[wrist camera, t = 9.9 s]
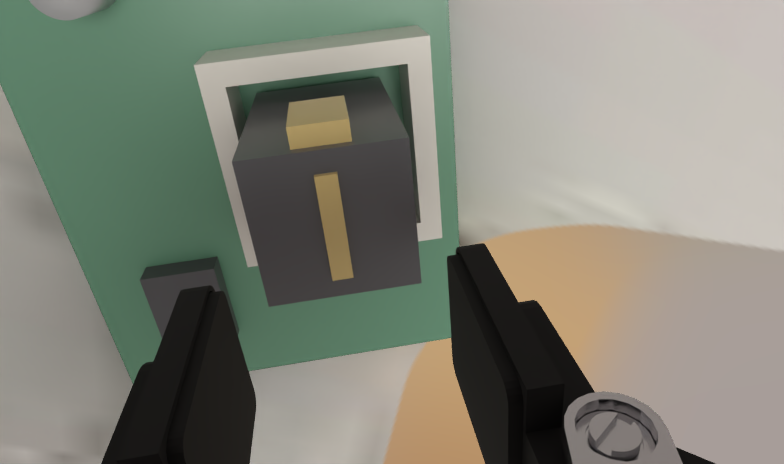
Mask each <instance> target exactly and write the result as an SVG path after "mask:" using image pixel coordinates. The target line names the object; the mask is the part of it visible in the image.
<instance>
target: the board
mask: <svg viewBox="0 0 784 464" xmlns="http://www.w3.org/2000/svg"><path fill="white" fill-rule="evenodd" d="M378 77H379V78H380V80H381V82H382V84H383V86H384V88H385V90H386V92H387V94H388V96H389V98H390V100H391V102H392V104H393V106H394V108H395V110H396V112H397V114H398V116H399V118H400V120H401V122H402V124H403V126H404V128H405V130H406V132H407V134H408V136H409V140H410V152H411V164H412V175H413V187H414V199H415V210H416V222H417V234H418V246H419V257H420V269H421V281H422V283H420V284H414V285H407V286H401V287H394V288H388V289H381V290H375V291H369V292H362V293H356V294H349V295H343V296H337V297H330V298H324V299H317V300H311V301H304V302H298V303H292V304H285V305H279V306H272V307H269V306H268V302H267V298H266V294H265V290H264V286H263V283H262V279H261V275H260V271H259V267H258V263H257V259H256V255H255V251H254V247H253V243H252V239H251V235H250V232H249V228H248V224H247V220H246V216H245V212H244V208H243V204H242V200H241V196H240V192H239V188H238V184H237V181H236V177H235V173H234V169H233V165H232V160H233V157H234V154H235V151H236V149H237V146H238V143H239V140H240V137H241V135H242V132H243V129H244V126H245V124H246V121H247V118H248V115H249V112H250V110H251V107H252V104H253V101H254V98H255V96H256V93H262V92H269V91H277V90H285V89H293V88H300V87H308V86H316V85H323V84H331V83H339V82H347V81H354V80H362V79H370V78H378ZM0 84H1V86H2V89H3V91H4V93H5V95H6V98H7V100H8V102H9V104H10V107H11V109H12V111H13V113H14V116H15V118H16V120H17V122H18V125H19V127H20V129H21V131H22V134H23V136H24V138H25V141H26V143H27V145H28V147H29V150H30V152H31V154H32V156H33V159H34V161H35V163H36V165H37V168H38V170H39V172H40V174H41V177H42V179H43V181H44V184H45V186H46V188H47V190H48V193H49V195H50V197H51V199H52V202H53V204H54V206H55V208H56V211H57V213H58V215H59V217H60V220H61V222H62V224H63V226H64V229H65V231H66V233H67V236H68V238H69V240H70V242H71V245H72V247H73V249H74V251H75V254H76V256H77V258H78V260H79V263H80V265H81V267H82V269H83V272H84V274H85V276H86V279H87V281H88V283H89V285H90V288H91V290H92V292H93V294H94V297H95V299H96V301H97V303H98V306H99V308H100V310H101V312H102V315H103V317H104V319H105V321H106V324H107V326H108V328H109V331H110V333H111V335H112V337H113V340H114V342H115V344H116V346H117V349H118V351H119V353H120V355H121V358H122V360H123V362H124V364H125V367H126V369H127V371H128V374H129V376H130V378H131V380H132V383H133V384H134V381H135V379H136V376H137V374H138V371H139V369H140V368H141V366H142V365H143V364H145V363H146V362H153V361H154V359H155V356H156V354H157V351H158V348H159V346H160V343H161V340H162V338H163V335H164V332H165V330H166V327H167V324H168V322H169V319H170V316H171V314H172V311H173V308H174V306H175V303H176V300H177V298H178V295H179V293H180V291H181V290H182V289H188V288H194V287H201V286H208V285H211V286H213V288H214V289H215V292H217V291H224V293H225V295H226V298H227V301H228V304H229V308H230V311H231V314H232V318H233V321H234V324H235V328H236V331H237V334H238V338H239V341H240V344H241V348H242V351H243V354H244V358H245V361H246V364H247V368H248V371H252V370H258V369H264V368H270V367H276V366H282V365H289V364H295V363H301V362H307V361H313V360H319V359H325V358H331V357H337V356H343V355H349V354H355V353H362V352H368V351H374V350H380V349H386V348H392V347H398V346H404V345H410V344H416V343H422V342H429V341H434V340H440V339H447V338H451V323H450V306H449V289H448V272H447V256H450V255H456V248H457V247H459V230H458V208H457V186H456V164H455V142H454V119H453V97H452V75H451V53H450V31H449V9H448V0H0Z"/></svg>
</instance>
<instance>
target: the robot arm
mask: <svg viewBox="0 0 784 464" xmlns="http://www.w3.org/2000/svg"><path fill="white" fill-rule="evenodd" d="M447 272H448V289H449V306H450V323H451V340H452V354H453V355H452V356H453V364H454V369H455V374H456V377H457V380H458V383H459V386H460V389H461V392H462V395H463V398H464V401H465V404H466V407H467V410H468V413H469V416H470V419H471V422H472V425H473V428H474V431H475V433H476V437H477V439H478V443H479V446H480V449H481V452H482V455H483V458H484V461H485V464H715V463H713V462H710V461H708V460H705V459H703V458H701V457H698V456H696V455H693V454H691V453H688V452H686V451H684V450H681V449H679V448H676V447H675V444H674V442H673V440H672V437H671V435H670V433H669V430H668V428H667V427H666V425H665V424H664V422H663V420H662V419H661V417H660V416H659V415H658V414H657V413H656V412H654V411H653V410H652V409H651V408H650V407H649V406H647V405H646V404H644V403H642V402H640V401H639V400H637V399H635V398H632V397H629V396H626V395H623V394H620V393H612V392H594V390H593V389H592V387H591V385H590V384H589V382H588V381H587V379H586V377H585V376H584V374H583V373H582V371H581V370H580V368H579V366H578V365H577V363H576V362H575V360H574V358H573V357H572V355H571V354H570V352H569V350H568V349H567V347H566V346H565V344H564V342H563V341H562V339H561V338H560V336H559V335H558V333H557V331H556V330H555V328H554V327H553V325H552V323H551V322H550V320H549V319H548V317H547V315H546V314H545V312H544V311H543V309H542V307H541V306H540V305H539V303H538V302H537V301H534V300H531V301H525V302H518V301H517V299H516V298H515V296H514V294H513V292H512V291H511V289H510V287H509V286H508V284H507V282H506V280H505V278H504V277H503V275H502V273H501V272H500V270H499V268H498V266H497V264H496V263H495V261H494V259H493V257H492V256H491V254H490V252H489V250H488V249H487V247H486V245H485V244H483V243H482V244H475V245H469V246H462V247H457V248H456V255H450V256H447ZM255 412H256V397H255V392H254V388H253V384H252V381H251V378H250V374H249V371H248V368H247V364H246V361H245V358H244V354H243V351H242V348H241V344H240V341H239V338H238V334H237V331H236V328H235V324H234V321H233V318H232V314H231V311H230V308H229V304H228V301H227V298H226V295H225V293H224V291H217V292H215V289H214V288H213V286H211V285H208V286H201V287H194V288H188V289H182V290H181V291H180V293H179V295H178V298H177V300H176V303H175V306H174V308H173V311H172V314H171V316H170V319H169V322H168V324H167V327H166V330H165V332H164V335H163V338H162V340H161V343H160V346H159V348H158V351H157V354H156V356H155V359H154V361H153V362H146V363H145V364H143V365H142V366H141V368H140V369H139V371H138V374H137V376H136V379H135V381H134V384H133V386H132V388H131V391H130V393H129V396H128V398H127V401H126V403H125V406H124V408H123V411H122V413H121V416H120V418H119V421H118V423H117V426H116V428H115V431H114V433H113V436H112V438H111V441H110V443H109V446H108V448H107V451H106V453H105V456H104V458H103V461H102V463H101V464H249V463H250V455H251V446H252V438H253V429H254V421H255Z"/></svg>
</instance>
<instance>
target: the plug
mask: <svg viewBox="0 0 784 464" xmlns="http://www.w3.org/2000/svg"><path fill="white" fill-rule="evenodd" d="M232 165H233V169H234V173H235V177H236V181H237V184H238V188H239V192H240V196H241V200H242V204H243V208H244V212H245V216H246V220H247V224H248V228H249V232H250V235H251V239H252V243H253V247H254V251H255V255H256V259H257V263H258V267H259V271H260V275H261V279H262V283H263V286H264V290H265V294H266V298H267V302H268V306H269V307H272V306H279V305H285V304H292V303H298V302H304V301H311V300H317V299H324V298H330V297H337V296H343V295H349V294H356V293H362V292H369V291H375V290H381V289H388V288H394V287H401V286H407V285H414V284H420V283H422V281H421V269H420V257H419V246H418V234H417V222H416V210H415V199H414V187H413V175H412V164H411V152H410V140H409V136H408V134H407V132H406V130H405V128H404V126H403V124H402V122H401V120H400V118H399V116H398V114H397V112H396V110H395V108H394V106H393V104H392V102H391V100H390V98H389V96H388V94H387V92H386V90H385V88H384V86H383V84H382V82H381V80H380V78H379V77H378V78H370V79H362V80H354V81H347V82H339V83H331V84H323V85H316V86H308V87H300V88H293V89H285V90H277V91H269V92H262V93H256V96H255V98H254V101H253V104H252V107H251V110H250V112H249V115H248V118H247V121H246V124H245V126H244V129H243V132H242V135H241V137H240V140H239V143H238V146H237V149H236V151H235V154H234V157H233V160H232Z"/></svg>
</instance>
